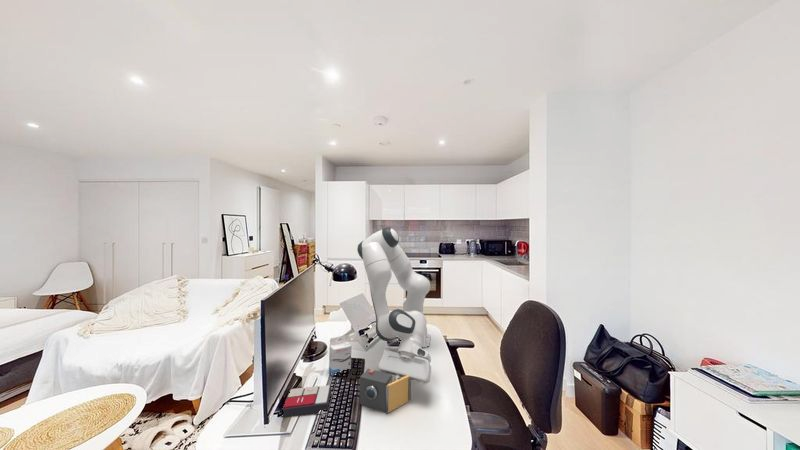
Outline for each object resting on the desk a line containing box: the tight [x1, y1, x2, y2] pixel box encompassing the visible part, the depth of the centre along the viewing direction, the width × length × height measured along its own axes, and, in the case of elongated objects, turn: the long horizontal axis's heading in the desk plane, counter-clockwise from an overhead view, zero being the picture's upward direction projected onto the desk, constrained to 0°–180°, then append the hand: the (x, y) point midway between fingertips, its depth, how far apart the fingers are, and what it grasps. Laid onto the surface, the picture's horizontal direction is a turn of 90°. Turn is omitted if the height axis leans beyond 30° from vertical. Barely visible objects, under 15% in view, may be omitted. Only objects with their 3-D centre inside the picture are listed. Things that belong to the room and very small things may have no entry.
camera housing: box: [359, 368, 393, 413], centre depth 95 cm, size 7×10×11 cm
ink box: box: [328, 334, 352, 374], centre depth 117 cm, size 8×5×15 cm, turn 123°
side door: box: [384, 375, 412, 414], centre depth 94 cm, size 11×2×9 cm, turn 131°
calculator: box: [281, 384, 332, 418], centre depth 95 cm, size 11×4×15 cm
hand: (398, 390), depth 96 cm, fingers closed
